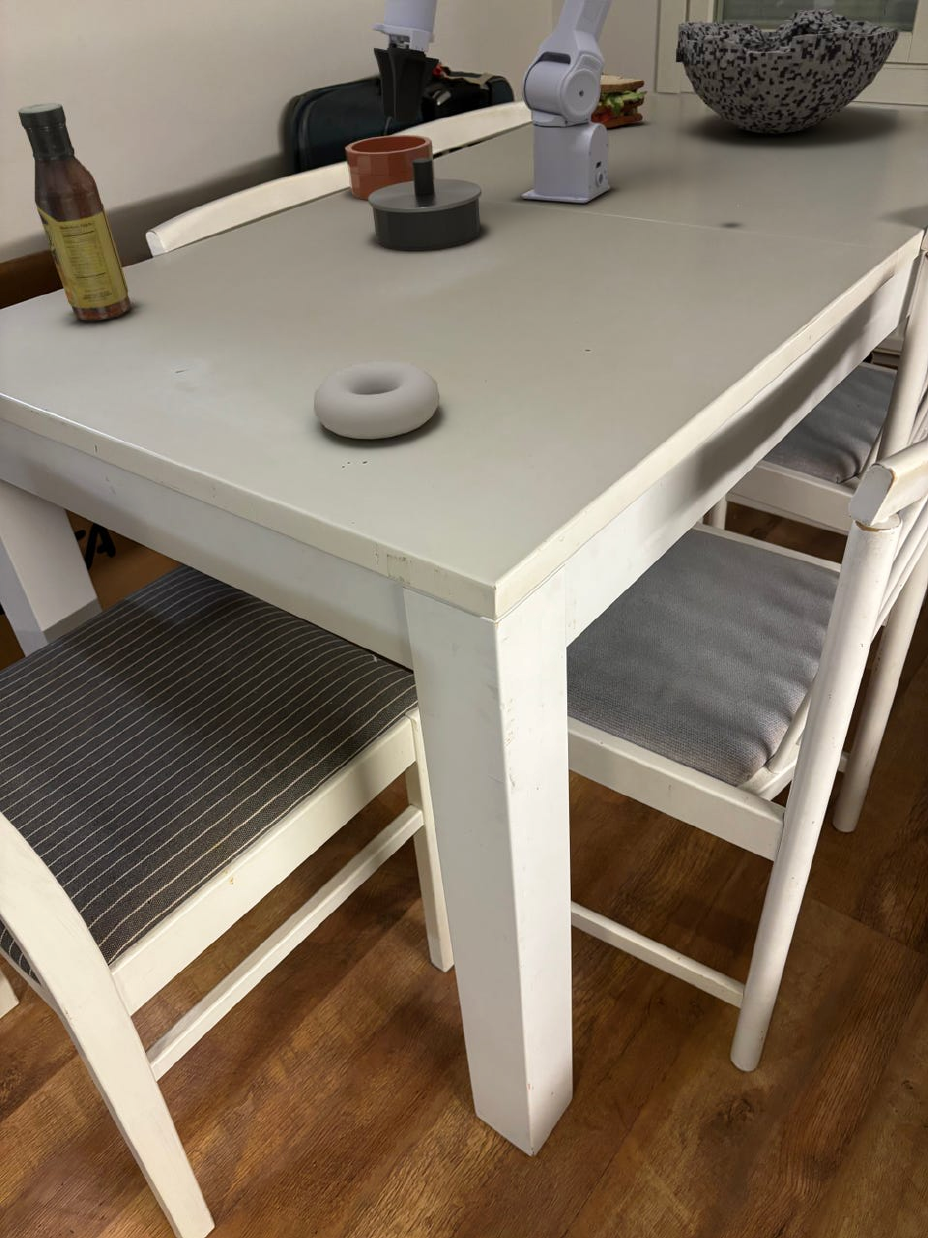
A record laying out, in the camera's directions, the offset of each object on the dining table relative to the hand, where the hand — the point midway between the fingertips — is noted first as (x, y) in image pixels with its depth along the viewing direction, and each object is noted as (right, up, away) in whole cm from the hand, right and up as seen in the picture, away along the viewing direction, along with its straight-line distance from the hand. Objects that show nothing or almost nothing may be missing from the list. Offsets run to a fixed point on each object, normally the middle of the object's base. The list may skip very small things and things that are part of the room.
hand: (397, 119), depth 113 cm
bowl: (+57, +18, +38) cm, 71 cm away
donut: (+1, -43, -36) cm, 57 cm away
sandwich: (+29, +29, +48) cm, 63 cm away
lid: (+3, -9, +2) cm, 9 cm away
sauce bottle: (-31, -27, -11) cm, 42 cm away
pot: (-2, +3, +24) cm, 24 cm away
